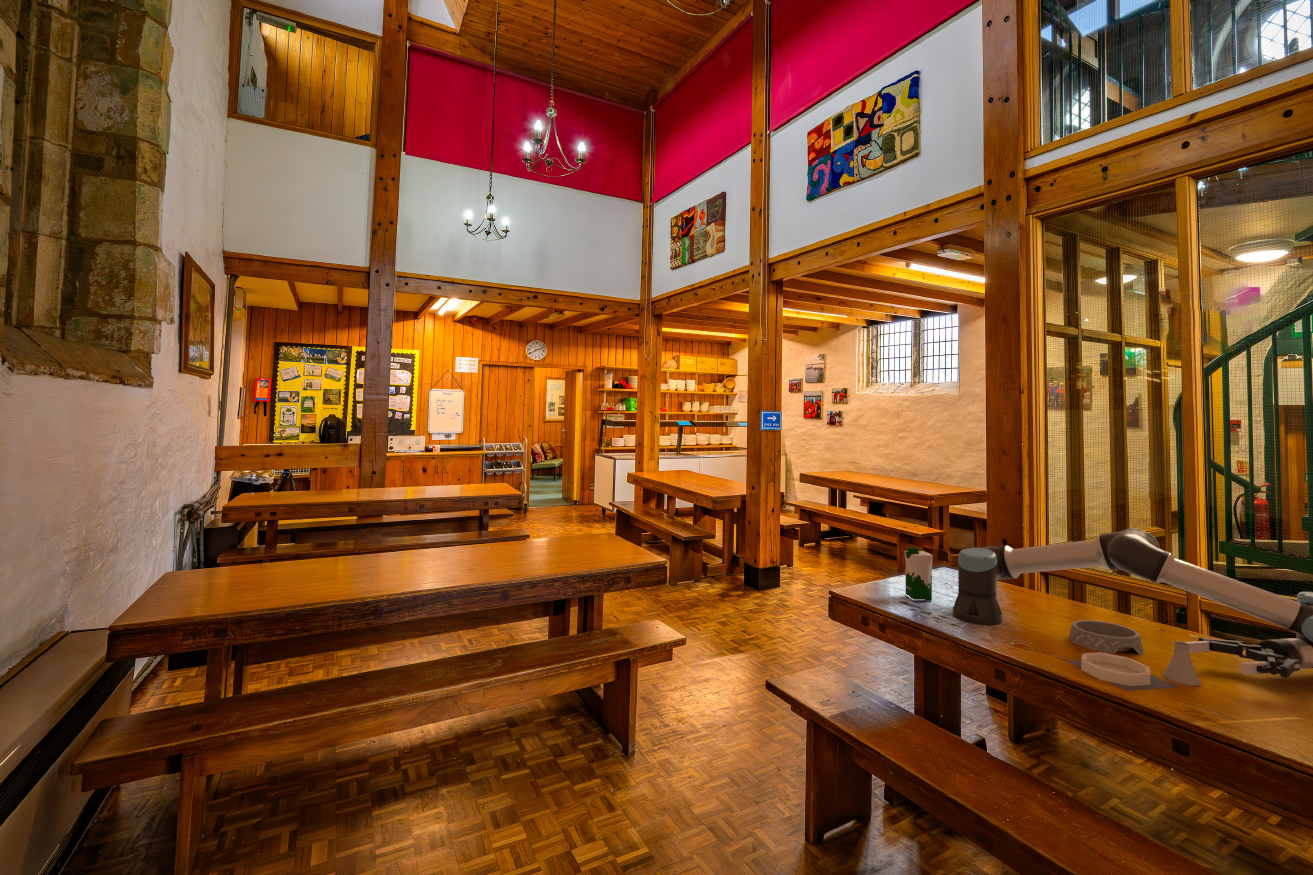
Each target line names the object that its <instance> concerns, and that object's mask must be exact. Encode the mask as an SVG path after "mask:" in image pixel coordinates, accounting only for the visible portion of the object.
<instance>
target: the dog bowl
mask: <svg viewBox="0 0 1313 875" xmlns="http://www.w3.org/2000/svg"><path fill="white" fill-rule="evenodd" d="M1067 639H1068V640H1070V641H1071V642H1072V643H1074V644H1076V645H1078V646H1080V647H1083V648H1086V649H1089V650H1092V651H1095V652H1096V651H1097V652H1099V653H1107V654H1112V655H1117V653H1118V652H1129V651H1131V650H1133V649H1134V650H1135V651H1136V653H1137V654H1138V655H1141V654H1144V653H1145V651H1144V647H1143V643H1142V639H1141V635H1140V633H1139V632H1138V631H1136V630H1135V629H1132V628H1130V627H1128V626H1125V625H1121V624H1117V623H1113V622H1109V621H1103V620H1102V621H1101V620H1092V619H1091V620H1090V619H1089V620H1088V619H1085V620H1084V619H1083V620H1076V621H1073V622H1072V623H1071V627H1070V632H1069V635H1068V638H1067Z"/></svg>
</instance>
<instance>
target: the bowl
mask: <svg viewBox="0 0 1313 875" xmlns="http://www.w3.org/2000/svg"><path fill="white" fill-rule="evenodd" d="M1080 660H1081V668H1080V670H1081V671H1082V672H1084V673H1085V674H1088V675H1089V676H1092V677H1094V678H1096V679H1098V680H1100V681H1104V682H1107V681H1108V683H1109V682H1113V683H1117V684H1122V685H1126V686H1142V685H1150V674H1151V669H1150V666H1148V665H1147V664H1144V663H1142V662H1140V661H1138V660H1135V659H1132V658H1130V657H1127V656H1122V655H1117V654H1111V653H1105V652H1086V653H1084V652H1083V653H1082V655H1081V659H1080Z"/></svg>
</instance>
